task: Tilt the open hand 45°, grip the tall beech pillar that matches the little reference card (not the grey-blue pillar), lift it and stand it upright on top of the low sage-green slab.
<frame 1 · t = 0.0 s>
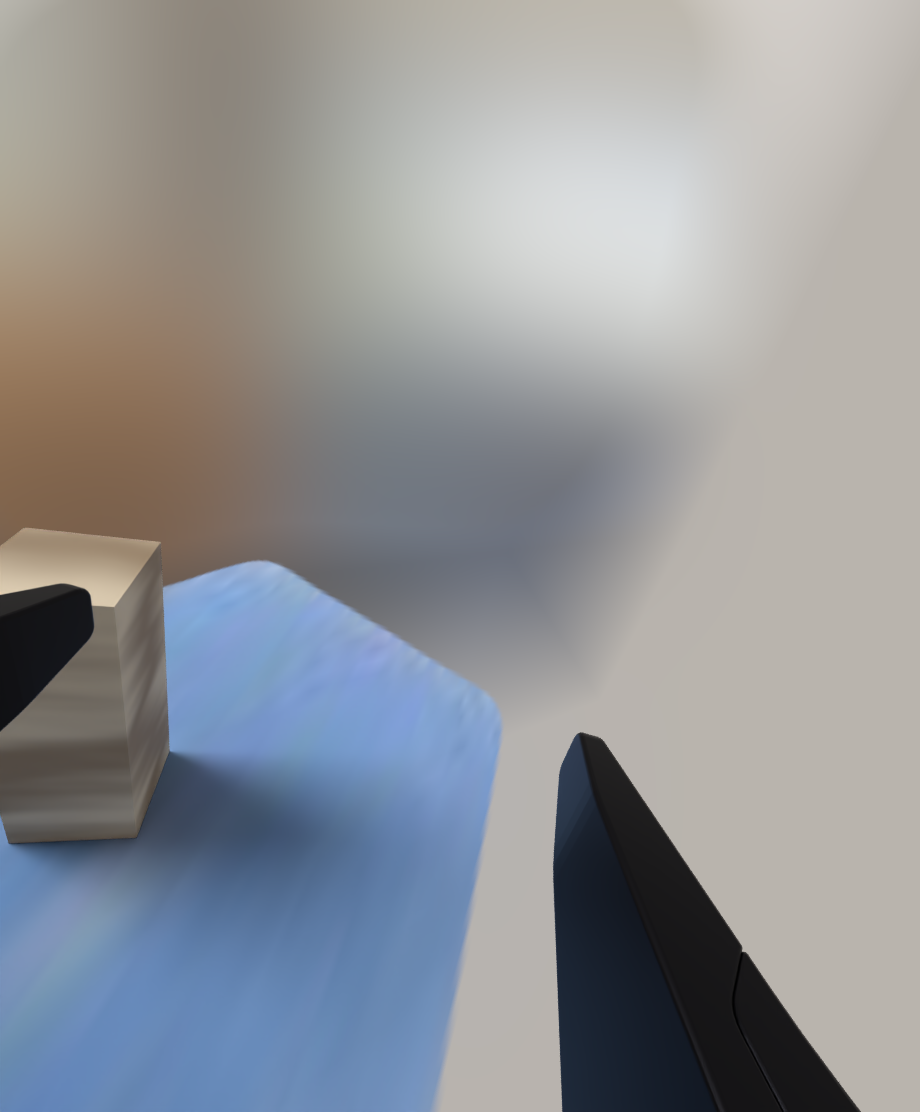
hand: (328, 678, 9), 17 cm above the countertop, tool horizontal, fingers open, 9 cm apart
beech pillar: (98, 791, 22), on the countertop
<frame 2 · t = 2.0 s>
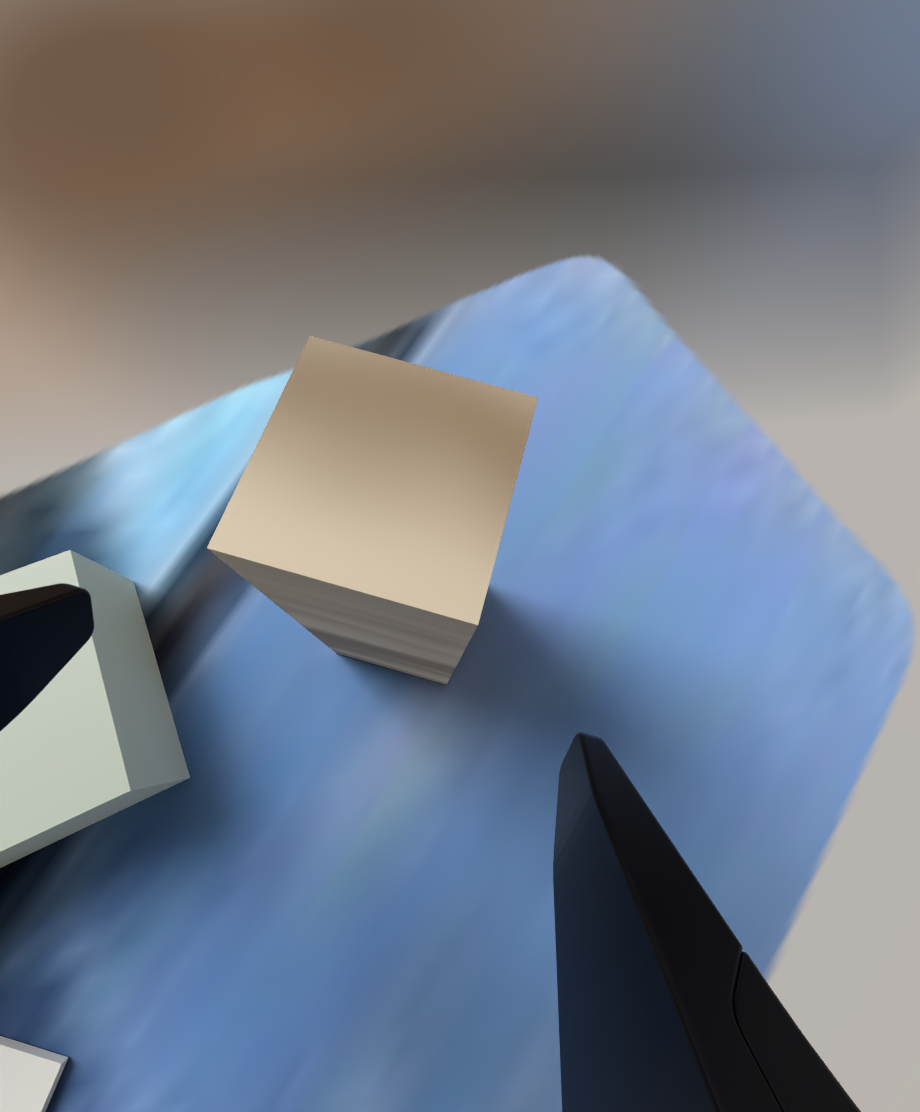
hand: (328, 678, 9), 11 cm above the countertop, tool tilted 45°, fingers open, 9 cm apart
beech pillar: (408, 614, 20), on the countertop
sage slab: (24, 734, 18), on the countertop
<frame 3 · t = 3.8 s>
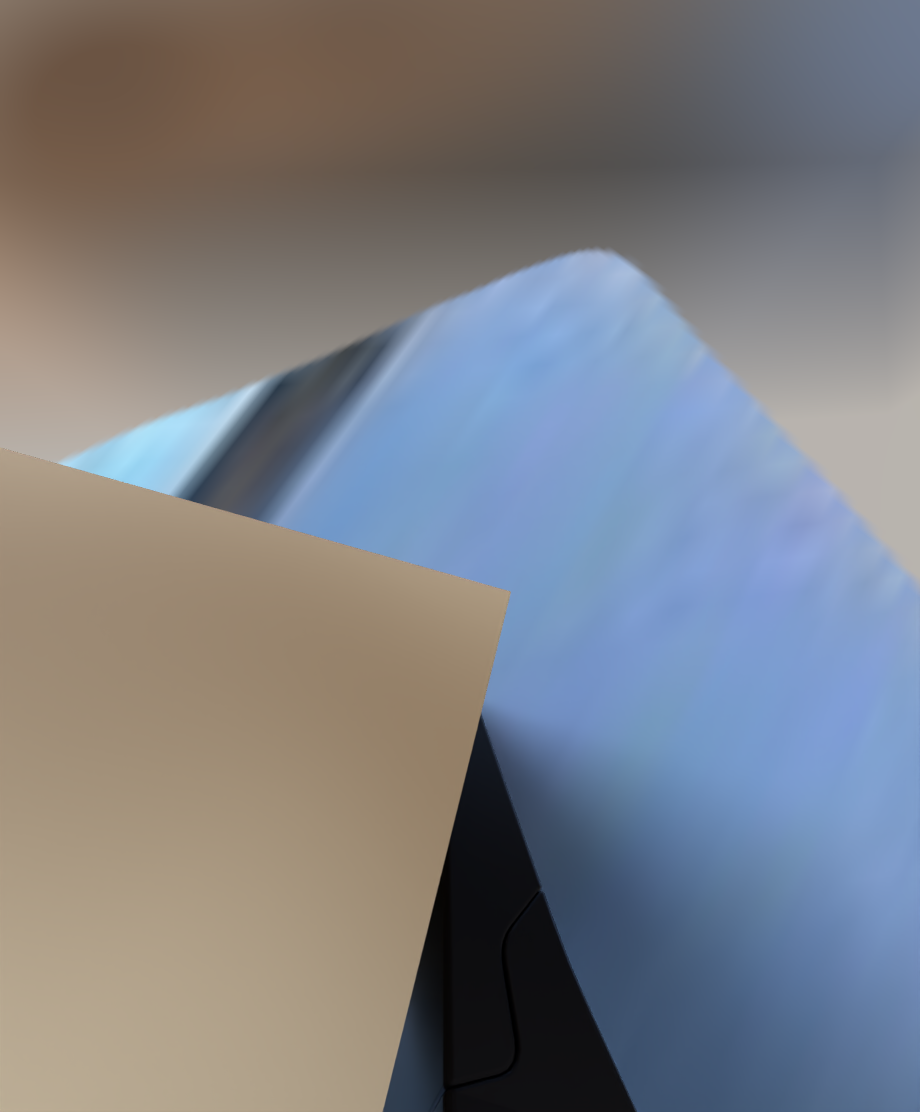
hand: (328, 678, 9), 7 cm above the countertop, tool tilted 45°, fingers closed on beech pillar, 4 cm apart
beech pillar: (354, 743, 14), on the countertop, touching gripper
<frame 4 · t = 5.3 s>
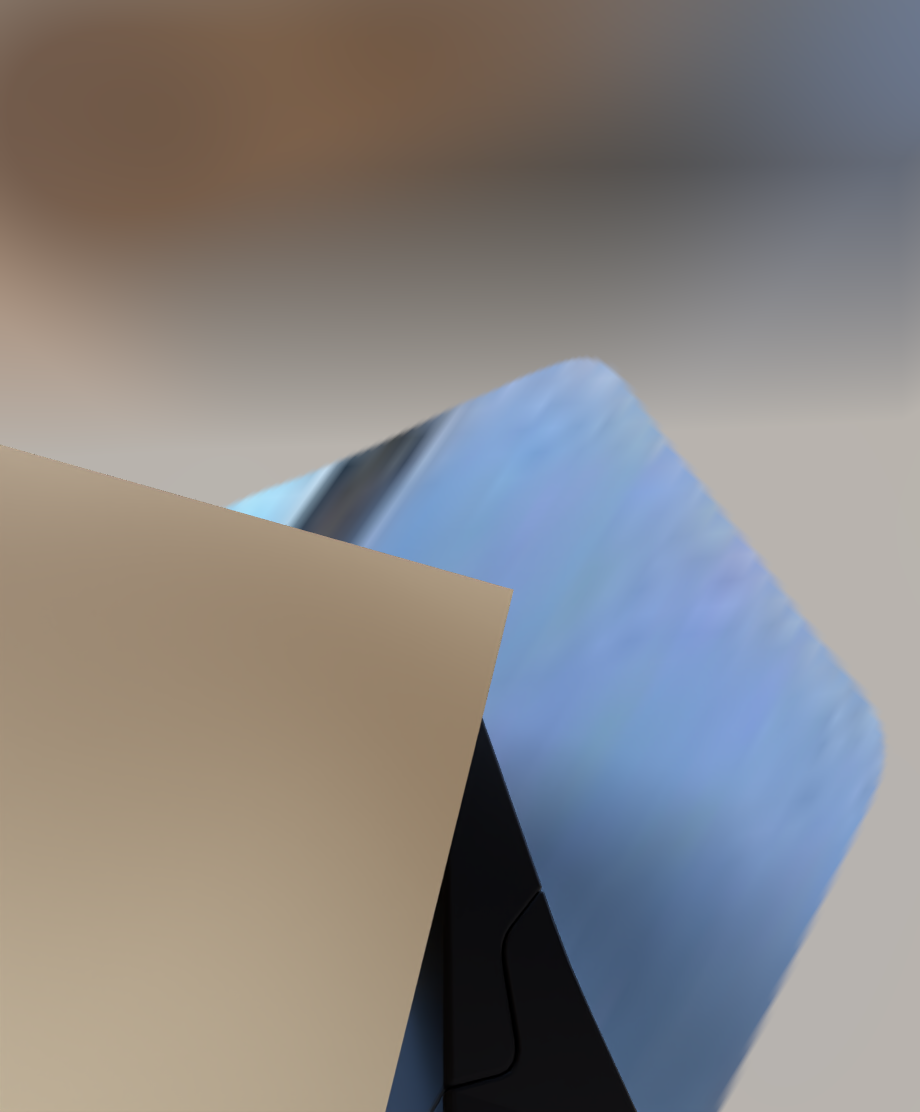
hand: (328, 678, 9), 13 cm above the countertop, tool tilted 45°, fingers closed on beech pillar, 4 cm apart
beech pillar: (354, 742, 14), point 7 cm above the countertop, touching gripper
when the fingers open (12 cm above the countertop, at t = 7.0 s): beech pillar drops 2 cm, point 4 cm above the countertop.
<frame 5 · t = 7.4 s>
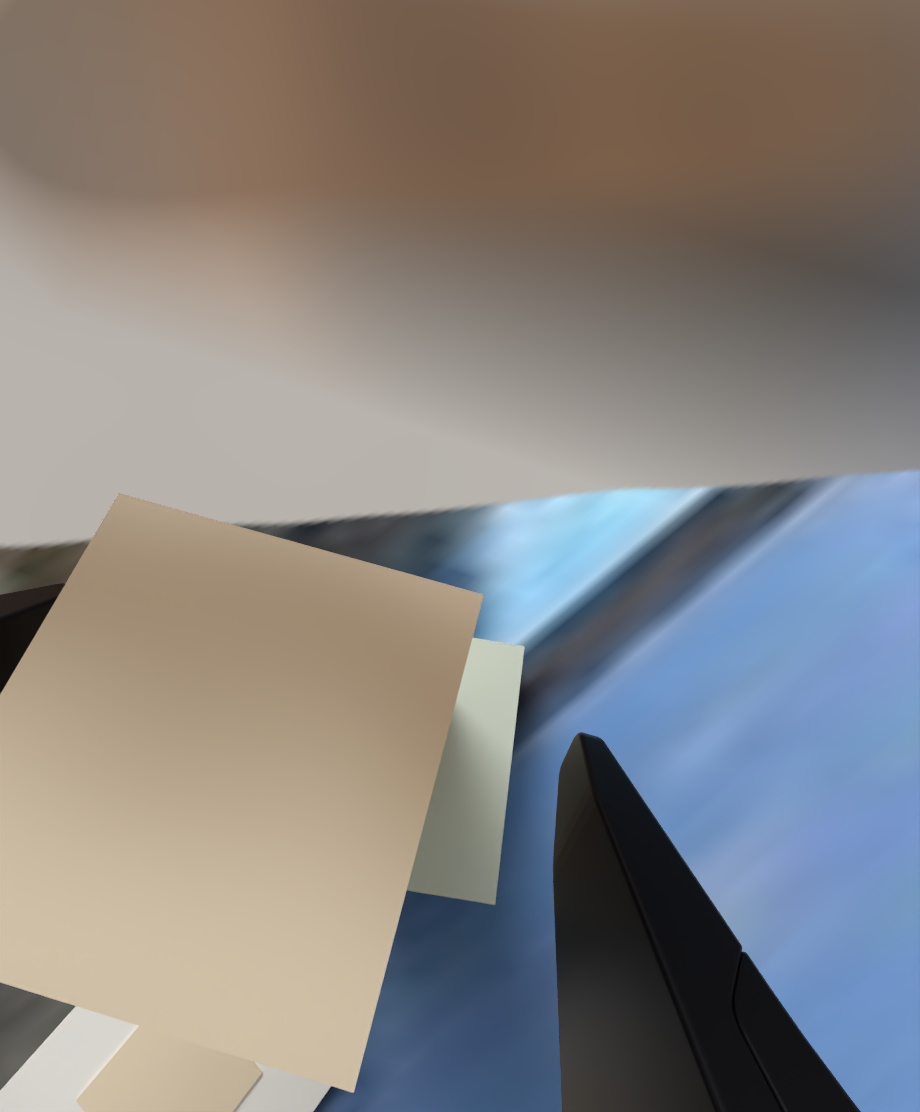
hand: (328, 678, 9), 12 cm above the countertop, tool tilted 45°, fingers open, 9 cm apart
reference card: (176, 1078, 16), on the countertop
beech pillar: (361, 737, 16), point 4 cm above the countertop
sage slab: (375, 736, 20), on the countertop
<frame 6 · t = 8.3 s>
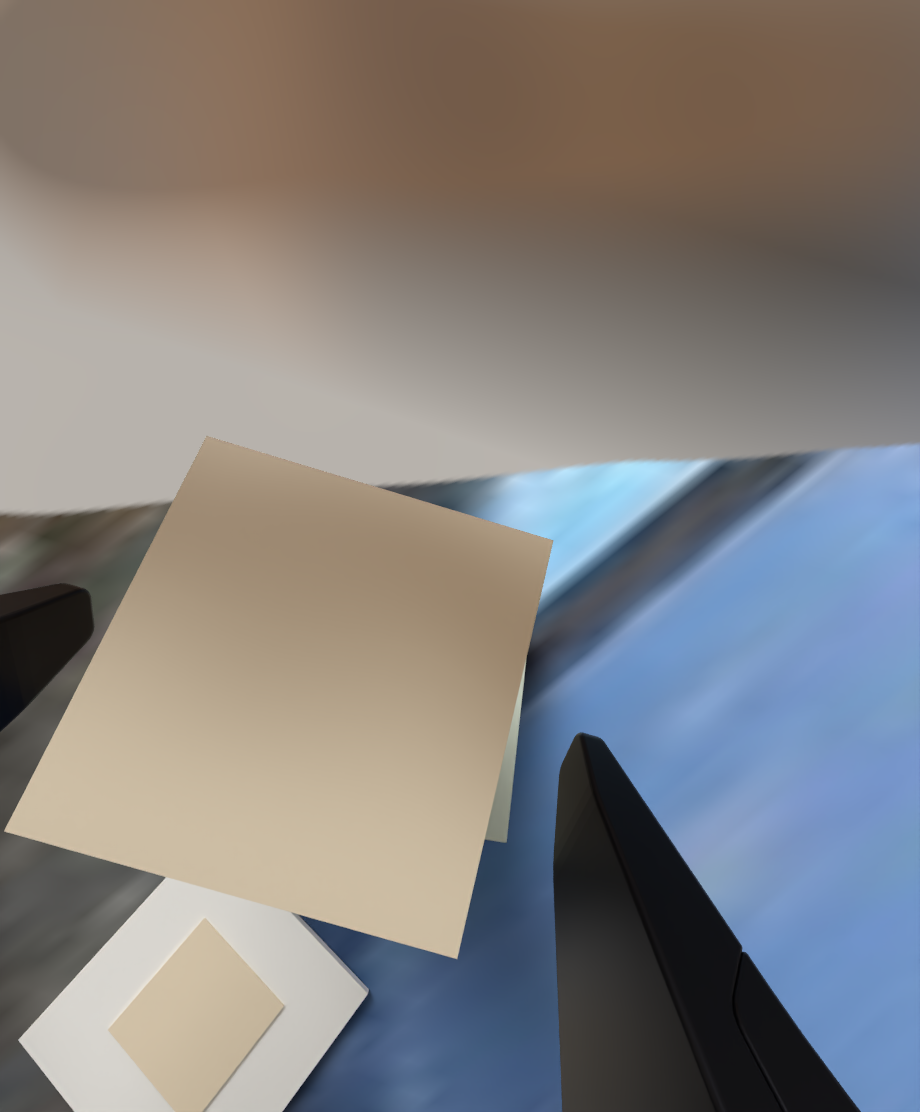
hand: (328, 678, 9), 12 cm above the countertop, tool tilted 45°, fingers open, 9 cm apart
reference card: (202, 1011, 17), on the countertop
beech pillar: (376, 692, 17), point 4 cm above the countertop
sage slab: (387, 695, 21), on the countertop
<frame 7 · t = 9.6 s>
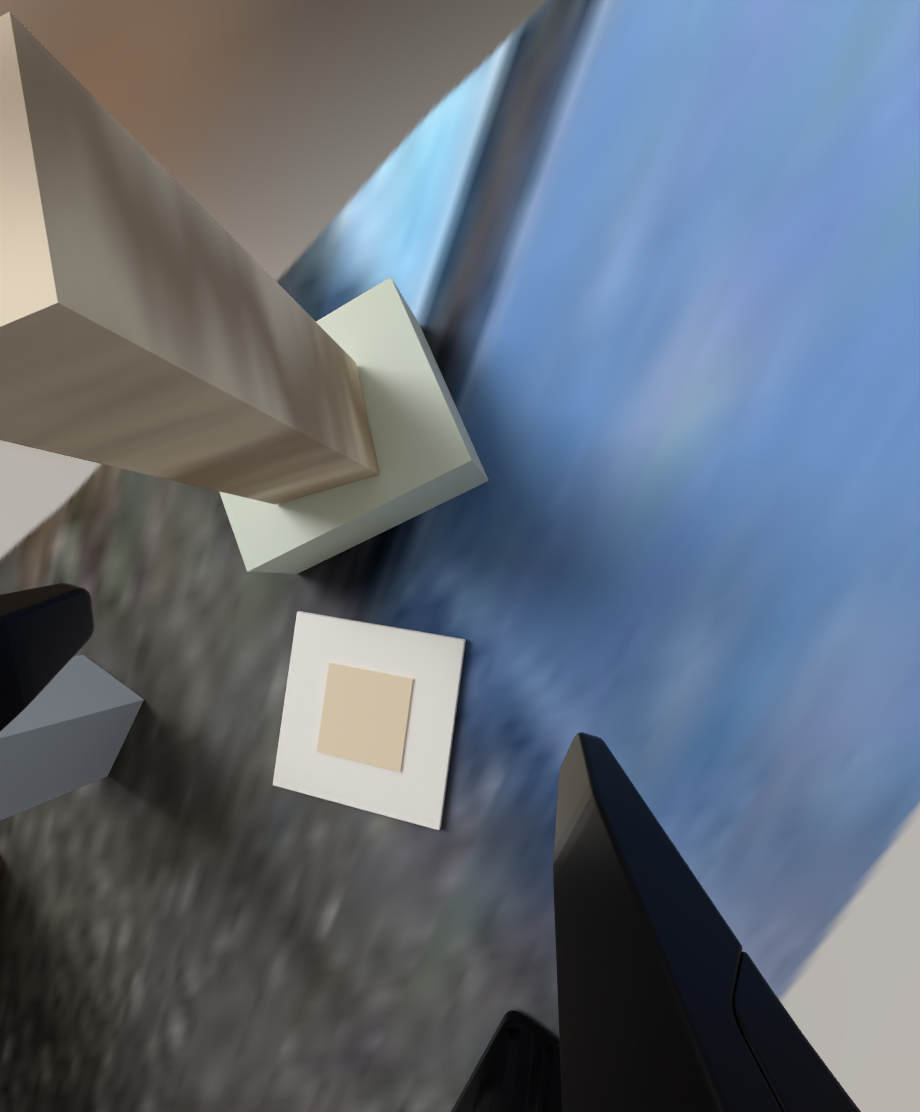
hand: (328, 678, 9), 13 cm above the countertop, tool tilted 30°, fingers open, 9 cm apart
grey-blue pillar: (95, 714, 25), on the countertop
reference card: (367, 713, 22), on the countertop
beech pillar: (315, 434, 19), point 4 cm above the countertop, touching sage slab
sage slab: (361, 453, 23), on the countertop, touching beech pillar
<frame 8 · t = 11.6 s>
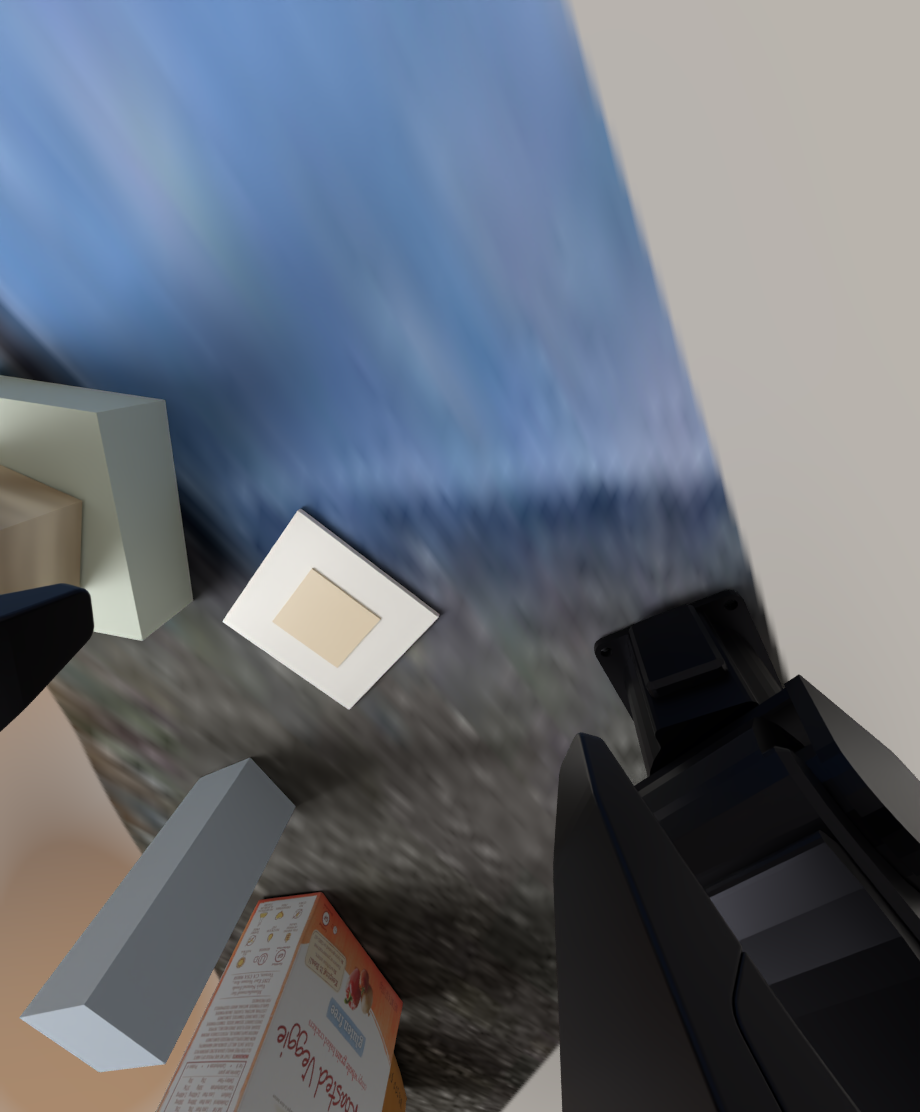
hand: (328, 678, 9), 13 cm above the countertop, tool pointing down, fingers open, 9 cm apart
cracker box: (337, 945, 37), on the countertop
grey-blue pillar: (247, 792, 31), on the countertop
reference card: (328, 616, 24), on the countertop
beech pillar: (30, 526, 20), point 4 cm above the countertop, touching sage slab
coffee package: (361, 1049, 44), on the countertop
sage slab: (108, 493, 24), on the countertop, touching beech pillar
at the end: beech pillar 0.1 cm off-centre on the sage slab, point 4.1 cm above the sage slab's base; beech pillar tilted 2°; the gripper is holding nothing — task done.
